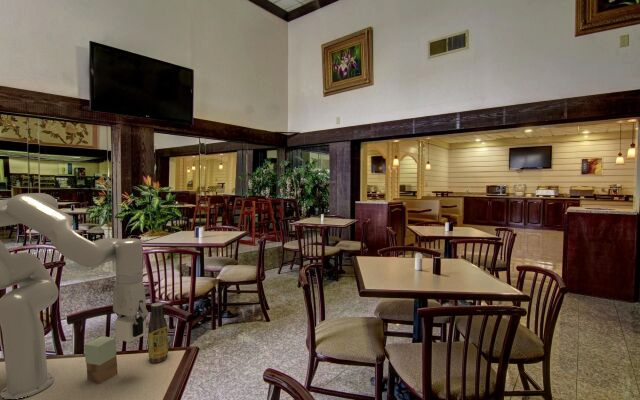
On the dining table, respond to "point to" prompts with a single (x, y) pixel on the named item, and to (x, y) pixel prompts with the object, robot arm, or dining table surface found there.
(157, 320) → the sauce bottle
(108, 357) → the sage cube
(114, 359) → the walnut cube
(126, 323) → the stone cube
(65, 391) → the dining table surface
